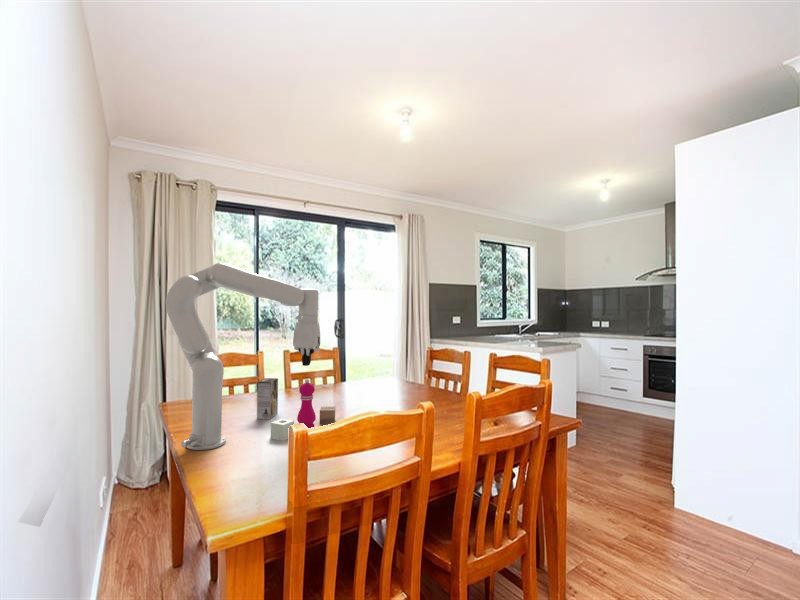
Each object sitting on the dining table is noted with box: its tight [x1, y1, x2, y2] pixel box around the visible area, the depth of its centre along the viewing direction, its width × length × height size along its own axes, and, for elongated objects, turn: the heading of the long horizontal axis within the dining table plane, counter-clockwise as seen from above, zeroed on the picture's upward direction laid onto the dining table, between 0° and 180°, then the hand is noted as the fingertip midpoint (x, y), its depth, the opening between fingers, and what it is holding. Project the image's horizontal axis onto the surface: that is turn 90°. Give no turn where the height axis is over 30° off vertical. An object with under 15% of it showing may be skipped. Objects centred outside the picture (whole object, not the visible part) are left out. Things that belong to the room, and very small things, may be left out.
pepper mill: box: [296, 378, 317, 428], centre depth 160 cm, size 7×7×20 cm
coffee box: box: [256, 377, 279, 420], centre depth 177 cm, size 9×6×16 cm
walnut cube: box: [318, 406, 336, 426], centre depth 169 cm, size 6×6×6 cm
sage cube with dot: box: [270, 418, 295, 441], centre depth 150 cm, size 6×6×6 cm
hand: (306, 365), depth 160 cm, fingers closed
